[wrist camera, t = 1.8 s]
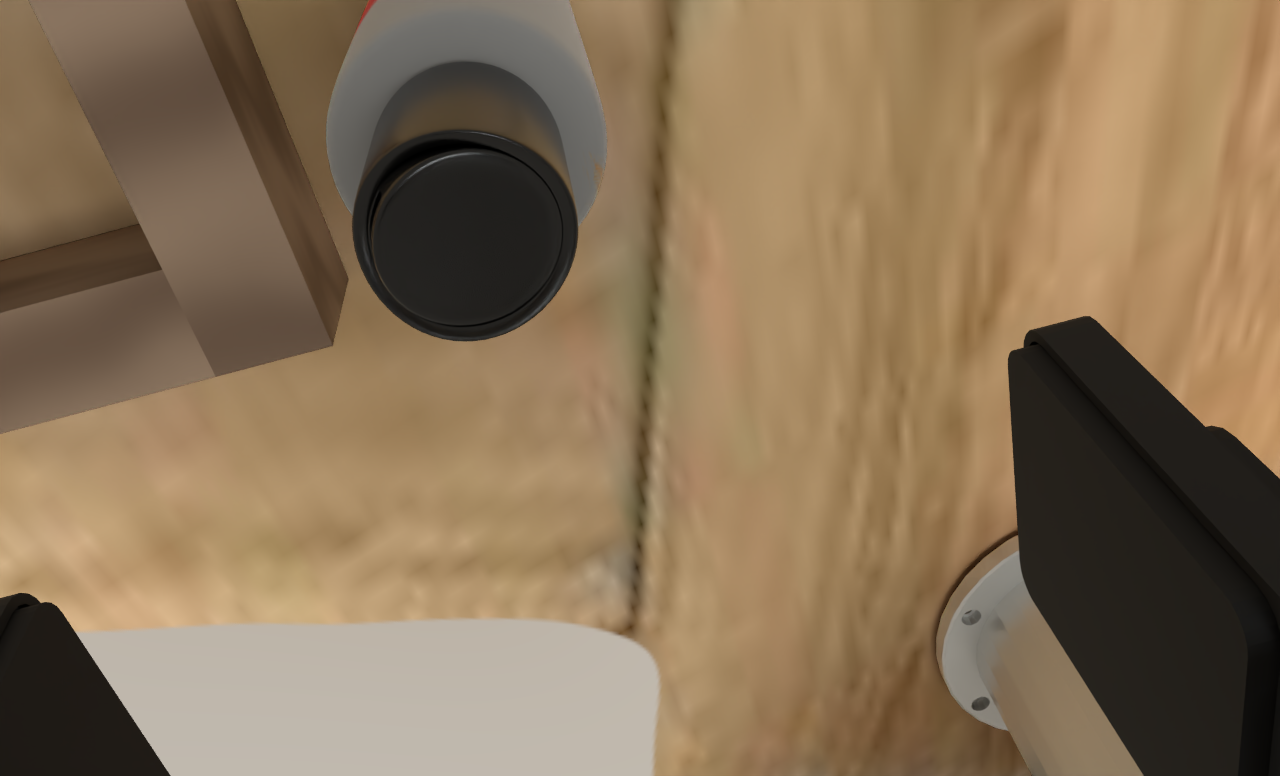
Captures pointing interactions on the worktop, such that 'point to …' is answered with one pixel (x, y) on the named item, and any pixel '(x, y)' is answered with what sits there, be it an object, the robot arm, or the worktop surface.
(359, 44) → the lotion bottle
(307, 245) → the holder
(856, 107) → the worktop surface
